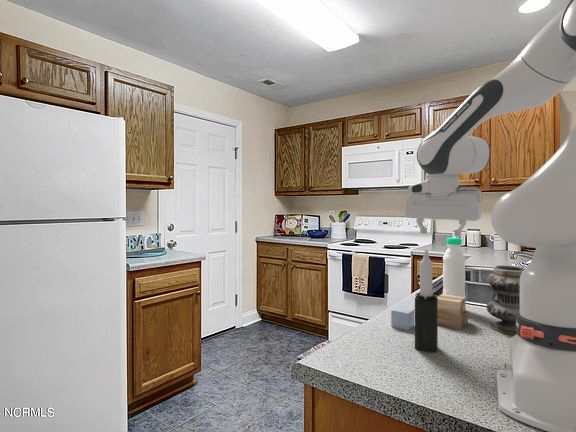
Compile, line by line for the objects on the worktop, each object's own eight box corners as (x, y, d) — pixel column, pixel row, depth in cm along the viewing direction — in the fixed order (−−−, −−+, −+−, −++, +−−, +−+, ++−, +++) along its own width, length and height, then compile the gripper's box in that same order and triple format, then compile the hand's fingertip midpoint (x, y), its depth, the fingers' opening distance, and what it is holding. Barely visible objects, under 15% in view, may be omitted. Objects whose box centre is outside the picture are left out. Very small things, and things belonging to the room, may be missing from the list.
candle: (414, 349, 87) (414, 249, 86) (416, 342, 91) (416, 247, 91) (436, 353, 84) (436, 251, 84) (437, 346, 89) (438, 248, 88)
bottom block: (460, 330, 101) (460, 316, 101) (432, 324, 106) (432, 311, 106) (467, 323, 107) (467, 310, 107) (440, 318, 112) (440, 305, 112)
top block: (459, 315, 102) (459, 302, 102) (434, 311, 106) (434, 298, 106) (465, 310, 107) (465, 297, 107) (441, 306, 112) (441, 293, 112)
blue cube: (407, 330, 101) (407, 313, 100) (391, 326, 104) (391, 310, 104) (414, 325, 104) (414, 309, 104) (398, 322, 108) (398, 306, 108)
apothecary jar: (503, 337, 94) (503, 271, 94) (477, 322, 106) (478, 264, 106) (546, 336, 95) (547, 270, 94) (516, 322, 107) (516, 263, 106)
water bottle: (438, 308, 122) (438, 237, 121) (452, 306, 125) (452, 236, 124) (455, 314, 115) (455, 239, 115) (470, 311, 118) (470, 238, 118)
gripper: (484, 186, 95) (483, 236, 96) (411, 187, 108) (410, 231, 109) (479, 186, 90) (477, 238, 91) (402, 187, 104) (401, 233, 104)
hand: (440, 235), depth 100 cm, fingers open, 8 cm apart
